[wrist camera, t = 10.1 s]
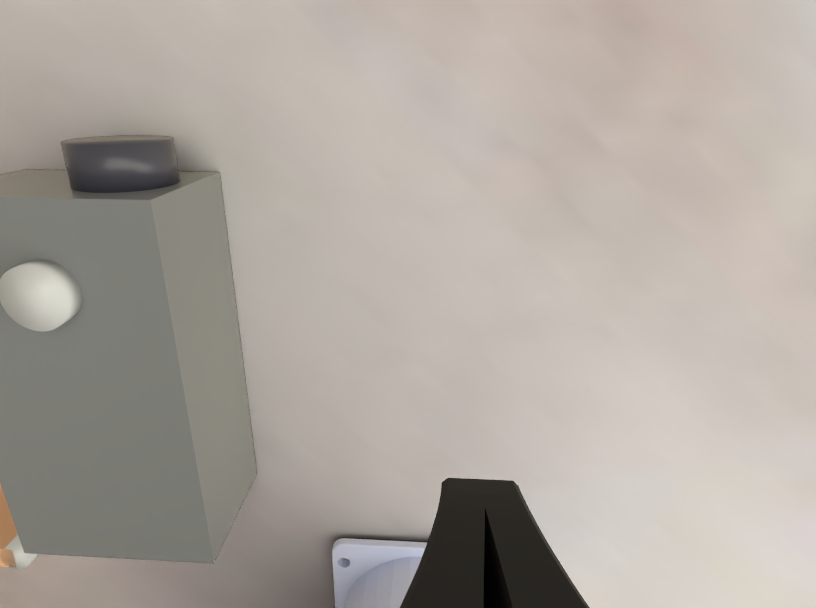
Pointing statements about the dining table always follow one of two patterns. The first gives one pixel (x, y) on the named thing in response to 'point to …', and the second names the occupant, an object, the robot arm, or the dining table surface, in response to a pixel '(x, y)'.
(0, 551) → the long wooden block
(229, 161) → the dining table surface
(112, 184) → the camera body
